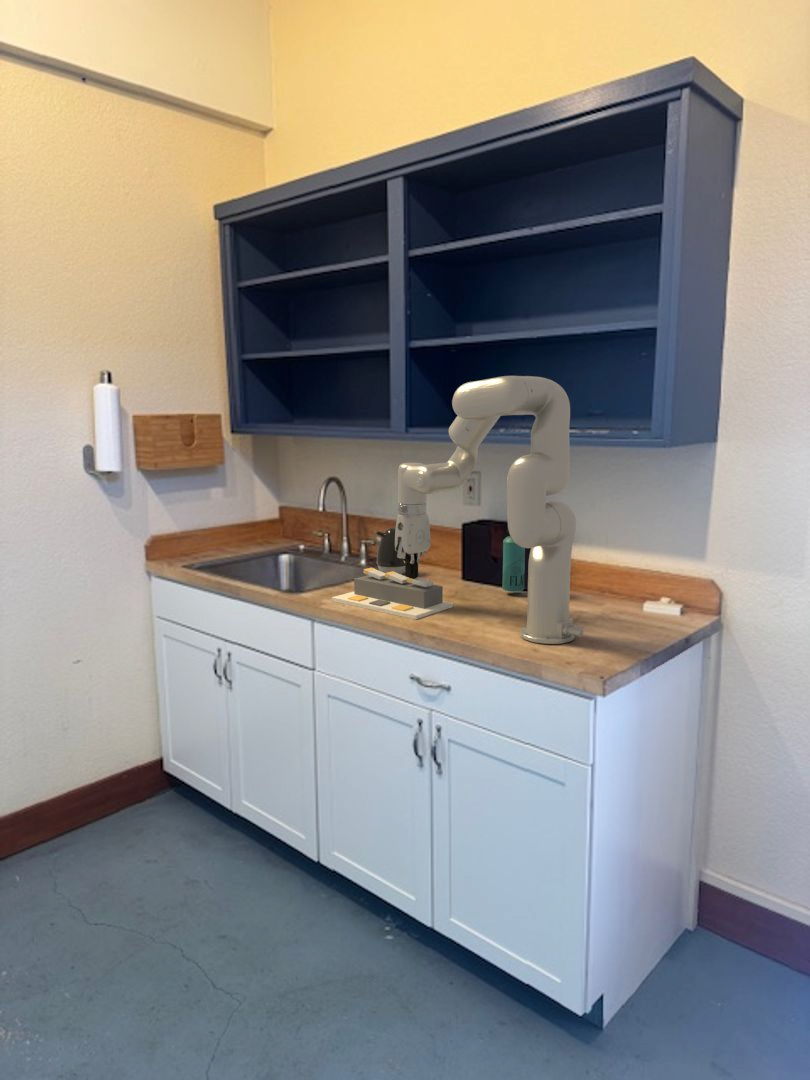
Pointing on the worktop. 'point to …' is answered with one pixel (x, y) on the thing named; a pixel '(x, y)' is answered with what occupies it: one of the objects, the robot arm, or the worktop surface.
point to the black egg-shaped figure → (389, 553)
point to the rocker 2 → (420, 581)
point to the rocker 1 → (374, 573)
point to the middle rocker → (396, 577)
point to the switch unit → (395, 597)
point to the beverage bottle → (513, 565)
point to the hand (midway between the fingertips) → (411, 577)
